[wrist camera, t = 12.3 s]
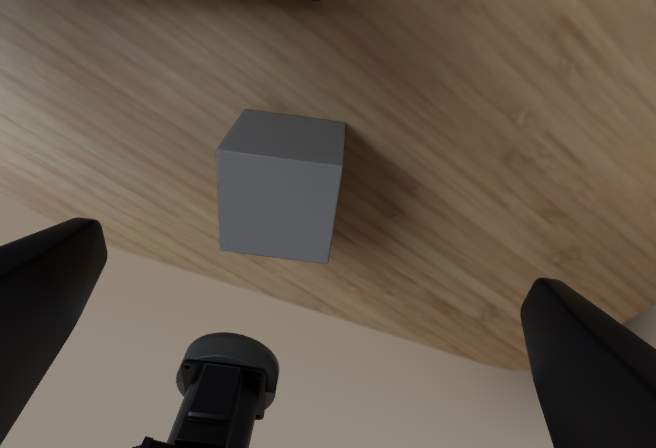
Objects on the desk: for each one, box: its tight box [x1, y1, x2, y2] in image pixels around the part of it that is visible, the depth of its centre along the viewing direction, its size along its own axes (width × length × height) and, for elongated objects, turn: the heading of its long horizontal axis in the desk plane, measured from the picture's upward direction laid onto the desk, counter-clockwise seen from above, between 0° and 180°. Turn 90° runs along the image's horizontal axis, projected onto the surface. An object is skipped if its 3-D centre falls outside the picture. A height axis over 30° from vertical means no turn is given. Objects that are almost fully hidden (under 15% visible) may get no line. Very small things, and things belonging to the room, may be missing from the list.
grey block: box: [216, 109, 346, 264], centre depth 19 cm, size 5×5×5 cm
